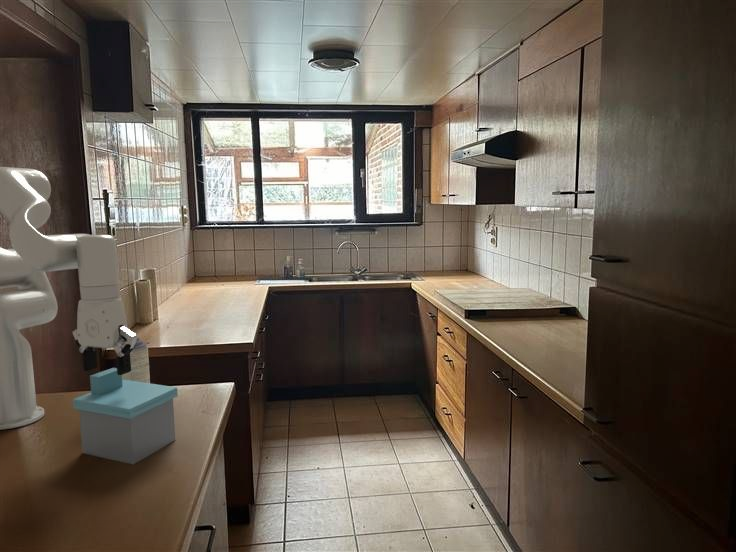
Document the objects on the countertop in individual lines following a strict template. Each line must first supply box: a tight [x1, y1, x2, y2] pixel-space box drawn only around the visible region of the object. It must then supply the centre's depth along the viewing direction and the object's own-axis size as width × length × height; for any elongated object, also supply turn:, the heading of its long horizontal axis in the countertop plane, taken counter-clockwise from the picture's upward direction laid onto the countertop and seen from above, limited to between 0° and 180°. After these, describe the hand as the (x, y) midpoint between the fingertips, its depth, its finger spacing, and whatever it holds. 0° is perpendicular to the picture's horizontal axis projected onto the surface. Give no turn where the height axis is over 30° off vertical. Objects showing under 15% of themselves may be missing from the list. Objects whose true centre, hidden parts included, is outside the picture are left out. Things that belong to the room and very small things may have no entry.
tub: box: [78, 398, 176, 465], centre depth 114 cm, size 14×12×11 cm
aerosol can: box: [120, 331, 151, 384], centre depth 134 cm, size 7×7×20 cm
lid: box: [72, 367, 179, 419], centre depth 113 cm, size 15×13×6 cm
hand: (107, 371), depth 114 cm, fingers open, 9 cm apart
